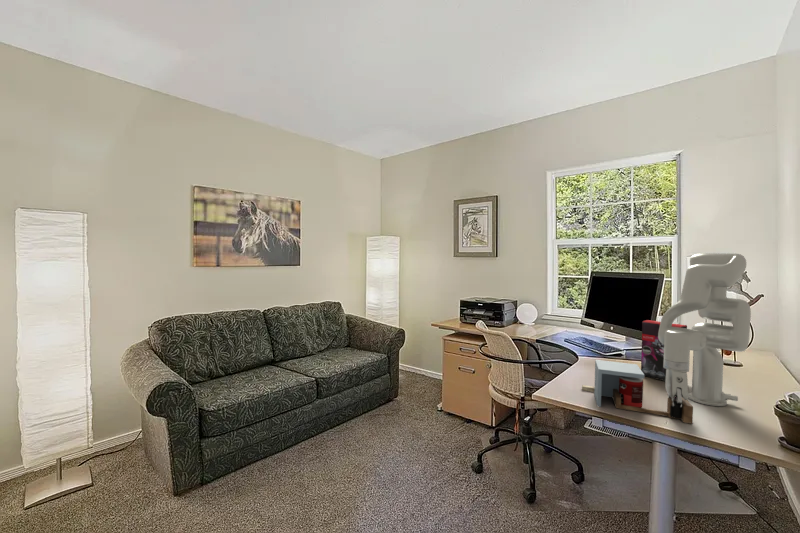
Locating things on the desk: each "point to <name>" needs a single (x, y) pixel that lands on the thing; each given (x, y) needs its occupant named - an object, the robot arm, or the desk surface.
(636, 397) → the canned food
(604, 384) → the cubby
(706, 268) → the robot arm
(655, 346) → the graphics card box
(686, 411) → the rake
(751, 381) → the desk surface
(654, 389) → the desk surface
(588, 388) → the dowel
